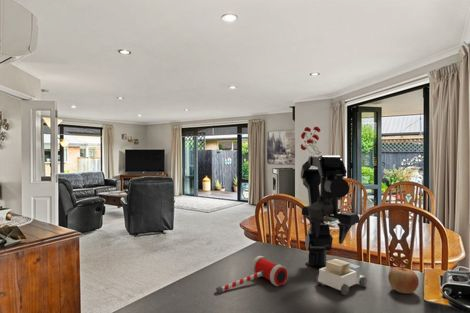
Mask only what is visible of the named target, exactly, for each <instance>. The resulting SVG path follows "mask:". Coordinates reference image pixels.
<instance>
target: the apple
mask: <svg viewBox="0 0 470 313" xmlns="http://www.w3.org/2000/svg"><path fill="white" fill-rule="evenodd" d="M400 266H401V267H399V266H395V267H392V268H391V269H389V270H390V271H389V272H388V277H387V278H388V283H389V284H390V287H391V288H392V289H393V290H395V292H398V293H400V294H412V293H414V292H416V290H417V289H418V288H419V284H420V283H419V281H420V280H419V277H418V276H417V274H416V272H415V271H413V270H412V269H409V268H404V267H403V264H401V265H400Z"/></svg>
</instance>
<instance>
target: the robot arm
mask: <svg viewBox="0 0 470 313" xmlns="http://www.w3.org/2000/svg"><path fill="white" fill-rule="evenodd" d="M345 177H347V169H346V165H345V163H344V160H343V159H342V158H341V156H340V155H337V154H336V155H332V154H331V155H325V154H322V155H310V156H308V159H307V160H306V161H305V162H304V163H303V164H302V165H301V170H300V179H301V181H302V185H303V186H304V187H305V188H306V189H307V198H308V205H305V206H303V207H302V208H301V215H302V216H304V218H305V219H307V220H308V222H310V226H309V228H308V230H307V234H306V237H305V240H304V243H305V248H306V250H307V251H308V261H306V262H305V265H307V266H309V267H311V268H315V269H318V270H319V269H321V268H324V267H326V261H327V251H332V248H333V247H332V246H333V239H334V238H333V236H332V234H331V230H330V225H329V224H327V223H326V222H325V221H324V217H327V218H331V219H334V220H335V219H336V220H337V221H338V223H336V224H337V226H338V229H339V230H338V243H339V245H343V243H344V240H346V237H347V235H348V233H349V231H350V230H351V228H352V227H353V226H355V225H356V224H359V223H360V216H359V213H356V212H355V213H354V212H351V211H350V212H349V211H347V212H346V211H344V212H341V208H339V200H341V199H342V198H344V197H346V196H347V195H348V194H349V191H350V184H349V182H347V180H345V179H344V178H345Z"/></svg>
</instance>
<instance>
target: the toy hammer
mask: <svg viewBox="0 0 470 313" xmlns="http://www.w3.org/2000/svg"><path fill="white" fill-rule="evenodd" d="M250 266H251V267H250V268H251V271H252V273H253V274H250V275H249V276H246V277H244V278H240V279H239V280H235V281H233V282H231V283H228V284H226V285H223V286H218V287H216V288H215V289H216V293H217V294H219V295H221V294H223V293H224V292H225V291H227V290H230V289H232V288H236V287H237V286H240V285H243V284H245V283H247V282H251V281H252V280H256V279H258V278H260V277H262V278H264V279H266V280H268V281H270V283H271V284H272V285H274V286H276V287H279V286H283V285H285V284H286V282H287V281H288V278H289V271H288V270H289V269H288V268H287V267H286V266H284V265H283V264H276V263H274V262H271V261H269V260H268V259H267V258H266V257H265V256H264V255H263V256H262V255H258V256H256V257H255V258H254V259H253V260H252V262H251V265H250Z"/></svg>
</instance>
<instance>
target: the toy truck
mask: <svg viewBox="0 0 470 313" xmlns="http://www.w3.org/2000/svg"><path fill="white" fill-rule="evenodd" d="M349 263H350V262H349ZM367 283H368V279H367V277H365V275H362V274H361V266H360V265H357V264H355V263H354V264H353V263H350V267H349V274H346V275H343V276H339V275H336V274H333V273H331V272H328V271H326V267H324V268H321V269H318V275H316V278H315V284H316V285H319V286H321V285H322V284H324V285H326V286H329V287H331V288H333V289H335V290H338V291H340V292H341V295H342V296H348V295H349V292H350V287H351V286H355V285H357V284H359V286H360V287H362V288H365V287H366V286H367Z"/></svg>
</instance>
